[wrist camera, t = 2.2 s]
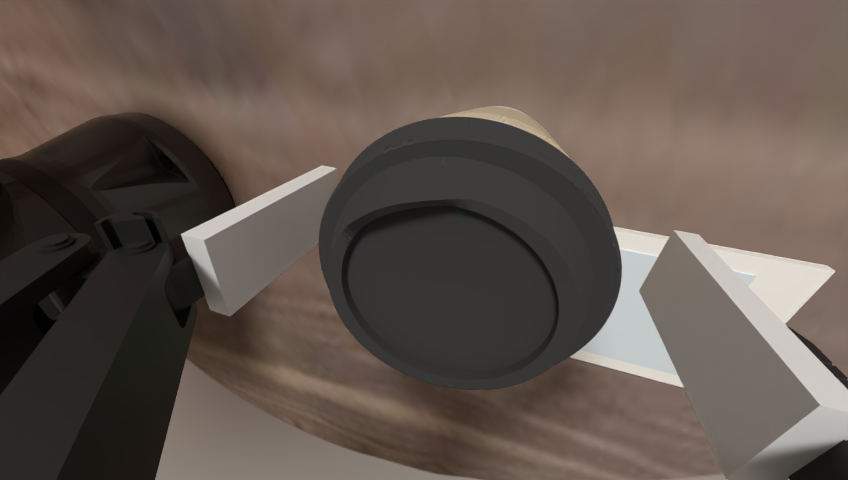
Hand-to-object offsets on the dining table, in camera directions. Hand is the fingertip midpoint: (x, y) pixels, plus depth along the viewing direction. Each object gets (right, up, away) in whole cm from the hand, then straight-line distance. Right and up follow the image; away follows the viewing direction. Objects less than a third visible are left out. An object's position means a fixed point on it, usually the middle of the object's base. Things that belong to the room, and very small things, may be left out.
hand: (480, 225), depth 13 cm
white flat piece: (+14, -6, +10) cm, 18 cm away
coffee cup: (+2, +5, +8) cm, 9 cm away
